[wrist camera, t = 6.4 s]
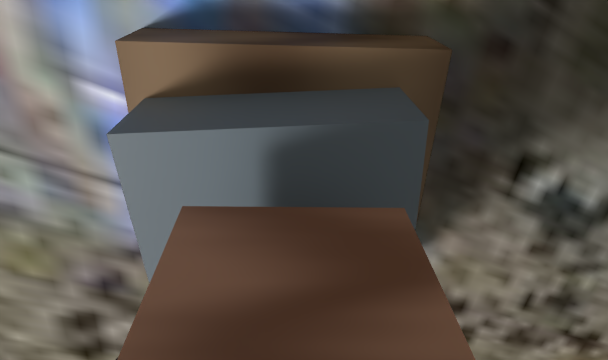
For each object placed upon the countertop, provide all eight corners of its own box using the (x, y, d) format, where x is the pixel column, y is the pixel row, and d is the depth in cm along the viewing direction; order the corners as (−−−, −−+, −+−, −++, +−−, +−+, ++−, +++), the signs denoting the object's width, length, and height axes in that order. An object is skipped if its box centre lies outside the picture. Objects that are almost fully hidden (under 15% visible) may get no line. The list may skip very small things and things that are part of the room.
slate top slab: (399, 87, 13) (429, 120, 10) (383, 279, 16) (402, 340, 14) (144, 98, 13) (106, 134, 10) (188, 289, 16) (169, 352, 14)
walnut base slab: (423, 33, 15) (452, 49, 12) (387, 248, 20) (402, 293, 17) (146, 25, 14) (115, 40, 12) (179, 248, 19) (162, 294, 16)
